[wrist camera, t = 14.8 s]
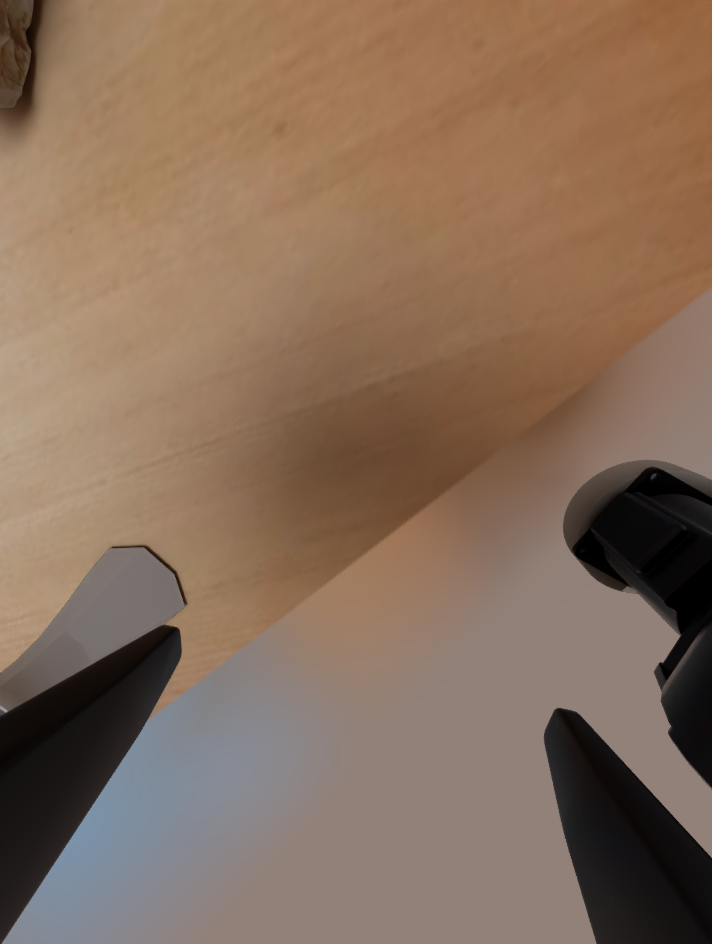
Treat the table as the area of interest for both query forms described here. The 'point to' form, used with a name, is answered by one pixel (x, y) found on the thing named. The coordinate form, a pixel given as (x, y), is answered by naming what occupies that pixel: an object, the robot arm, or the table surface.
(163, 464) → the table surface
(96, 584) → the flask
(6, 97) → the rock
